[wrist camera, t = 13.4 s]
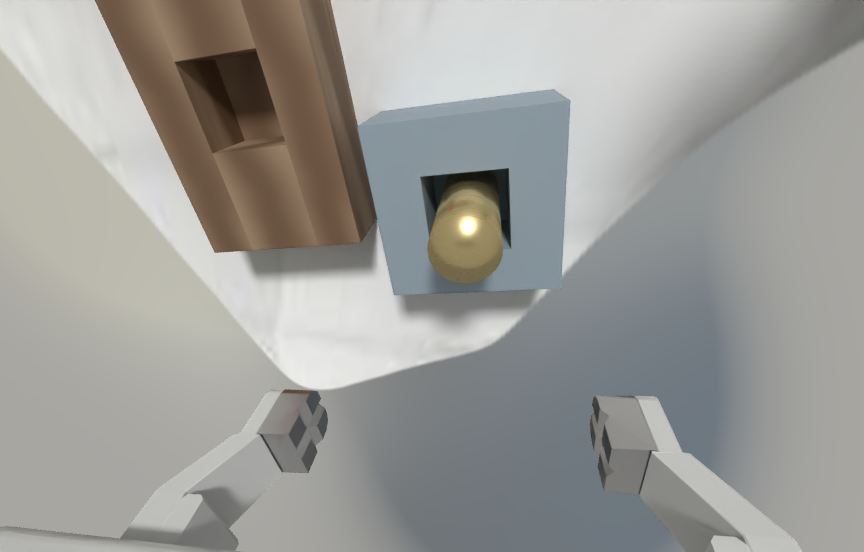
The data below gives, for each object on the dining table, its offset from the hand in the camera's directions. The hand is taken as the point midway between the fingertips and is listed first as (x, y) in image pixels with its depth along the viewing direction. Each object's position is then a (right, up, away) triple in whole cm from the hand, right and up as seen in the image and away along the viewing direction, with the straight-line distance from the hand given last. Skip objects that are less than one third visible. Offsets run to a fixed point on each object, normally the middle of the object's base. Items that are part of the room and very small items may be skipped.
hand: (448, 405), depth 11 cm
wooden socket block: (-12, +17, +17) cm, 27 cm away
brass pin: (+2, +10, +17) cm, 20 cm away
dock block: (+2, +11, +18) cm, 21 cm away
